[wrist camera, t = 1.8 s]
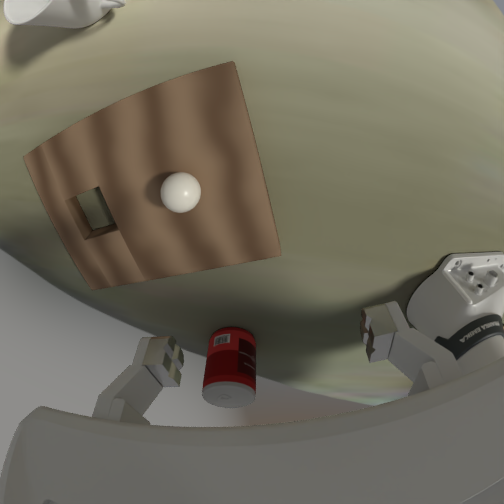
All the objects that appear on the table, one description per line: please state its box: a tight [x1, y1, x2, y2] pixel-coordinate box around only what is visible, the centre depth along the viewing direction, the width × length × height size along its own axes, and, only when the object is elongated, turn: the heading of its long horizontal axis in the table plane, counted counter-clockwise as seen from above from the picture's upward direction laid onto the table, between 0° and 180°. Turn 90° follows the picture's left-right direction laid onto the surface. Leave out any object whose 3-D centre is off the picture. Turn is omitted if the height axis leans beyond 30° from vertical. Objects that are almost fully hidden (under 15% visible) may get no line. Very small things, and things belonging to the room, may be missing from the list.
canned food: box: [202, 327, 256, 408], centre depth 42 cm, size 8×8×11 cm
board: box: [24, 61, 281, 290], centre depth 31 cm, size 28×22×2 cm
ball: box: [161, 172, 201, 213], centre depth 27 cm, size 4×4×4 cm
